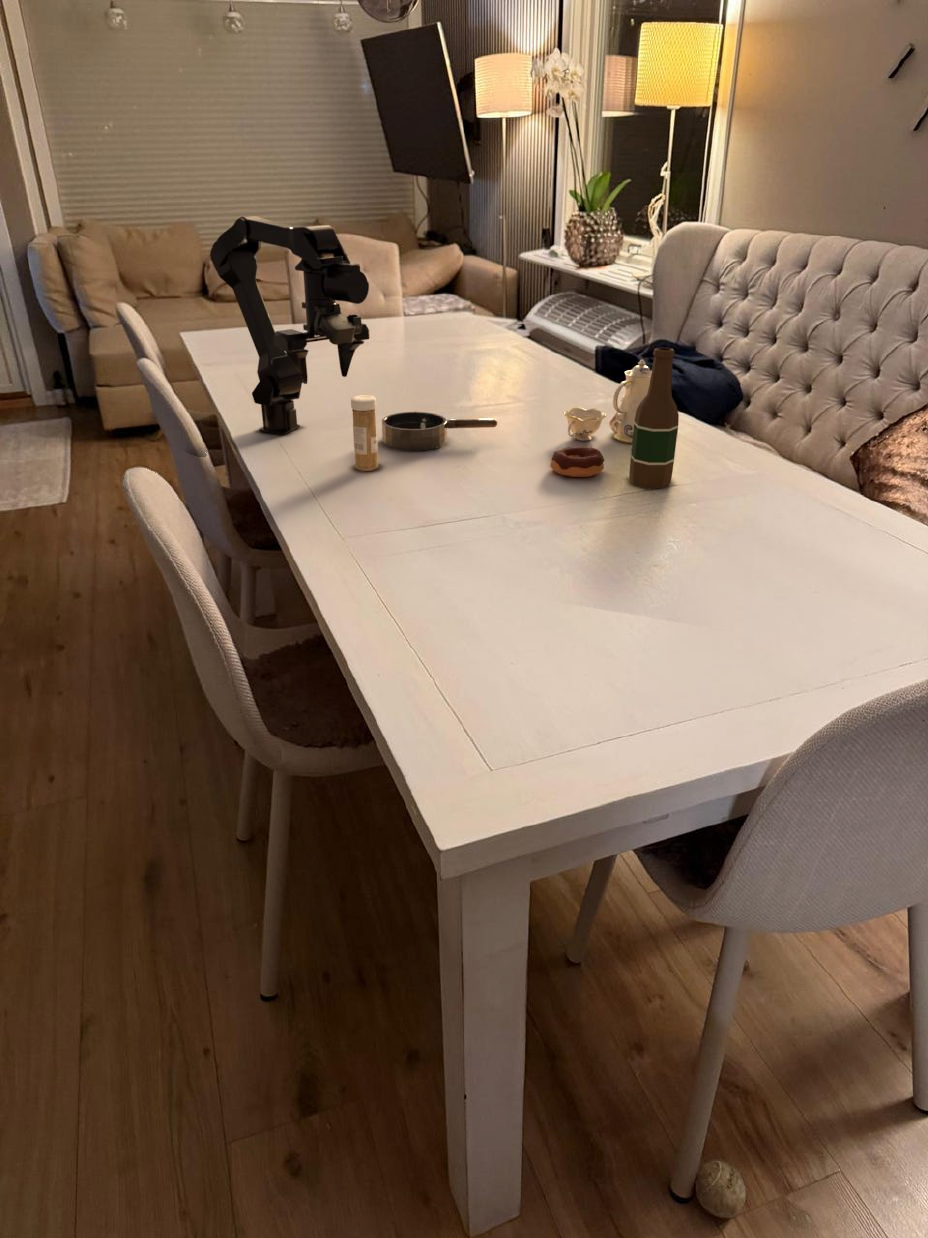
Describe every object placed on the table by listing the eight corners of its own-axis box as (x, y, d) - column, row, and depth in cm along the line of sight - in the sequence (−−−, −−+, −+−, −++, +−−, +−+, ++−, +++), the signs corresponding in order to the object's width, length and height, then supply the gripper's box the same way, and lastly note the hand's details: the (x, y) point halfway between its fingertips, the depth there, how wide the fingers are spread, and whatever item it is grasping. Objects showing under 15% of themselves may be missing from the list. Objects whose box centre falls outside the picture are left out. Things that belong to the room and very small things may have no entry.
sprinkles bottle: (382, 469, 170) (380, 398, 164) (361, 473, 168) (358, 401, 161) (371, 462, 173) (368, 392, 167) (350, 466, 171) (346, 396, 165)
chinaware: (632, 421, 205) (633, 346, 198) (695, 429, 194) (698, 350, 187) (552, 447, 188) (550, 365, 181) (617, 457, 177) (617, 371, 170)
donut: (543, 476, 167) (544, 455, 165) (557, 460, 175) (558, 440, 173) (597, 482, 164) (598, 461, 162) (608, 466, 172) (610, 446, 170)
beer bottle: (673, 477, 167) (690, 345, 156) (668, 491, 160) (684, 354, 149) (632, 472, 169) (645, 342, 158) (624, 486, 163) (638, 351, 151)
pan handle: (445, 429, 184) (445, 420, 183) (444, 427, 185) (444, 418, 184) (497, 428, 185) (498, 419, 184) (496, 425, 186) (496, 417, 186)
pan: (383, 452, 179) (382, 430, 177) (381, 433, 190) (380, 412, 188) (449, 450, 180) (449, 428, 178) (443, 431, 192) (443, 410, 189)
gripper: (300, 308, 160) (306, 396, 167) (385, 298, 170) (387, 380, 178) (268, 300, 167) (275, 384, 174) (351, 290, 178) (354, 370, 185)
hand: (324, 379), depth 178 cm, fingers open, 9 cm apart
